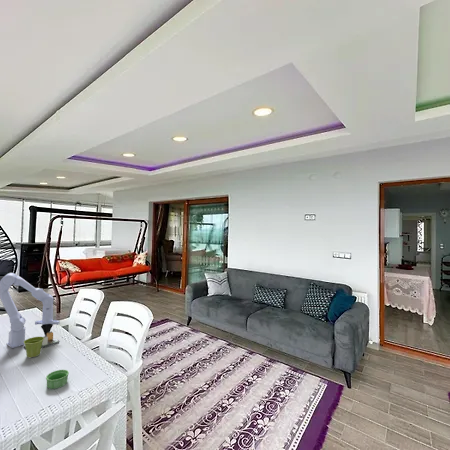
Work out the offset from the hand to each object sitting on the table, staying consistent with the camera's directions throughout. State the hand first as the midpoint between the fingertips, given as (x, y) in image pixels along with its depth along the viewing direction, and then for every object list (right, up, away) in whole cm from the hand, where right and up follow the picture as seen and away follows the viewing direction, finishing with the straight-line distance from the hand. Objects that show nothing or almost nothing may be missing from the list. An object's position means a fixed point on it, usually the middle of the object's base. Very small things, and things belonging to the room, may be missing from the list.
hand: (46, 335), depth 169 cm
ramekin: (+37, -3, -47) cm, 60 cm away
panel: (+2, -3, -8) cm, 9 cm away
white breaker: (+5, -1, -10) cm, 11 cm away
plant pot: (+7, -3, -21) cm, 22 cm away
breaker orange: (+3, -1, -2) cm, 4 cm away
